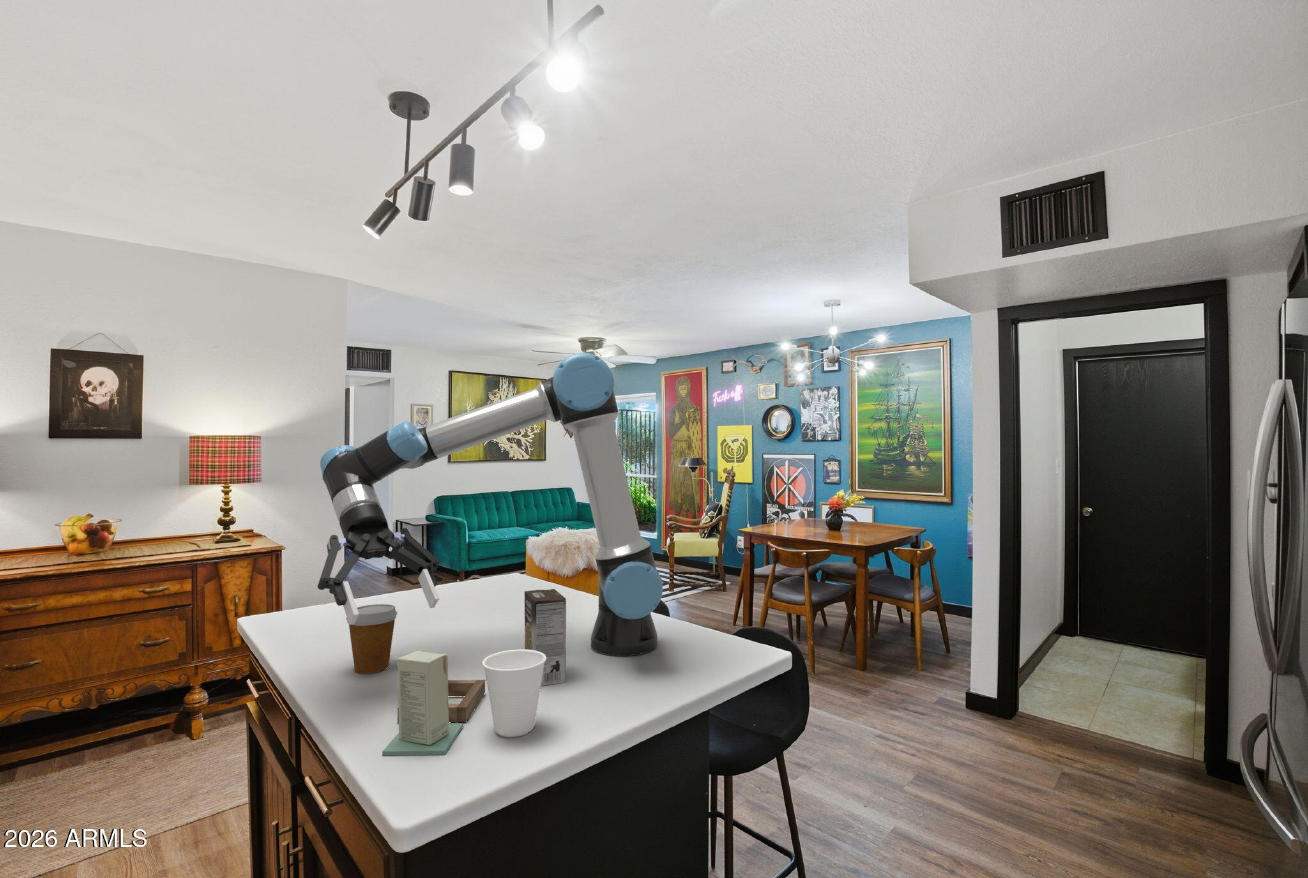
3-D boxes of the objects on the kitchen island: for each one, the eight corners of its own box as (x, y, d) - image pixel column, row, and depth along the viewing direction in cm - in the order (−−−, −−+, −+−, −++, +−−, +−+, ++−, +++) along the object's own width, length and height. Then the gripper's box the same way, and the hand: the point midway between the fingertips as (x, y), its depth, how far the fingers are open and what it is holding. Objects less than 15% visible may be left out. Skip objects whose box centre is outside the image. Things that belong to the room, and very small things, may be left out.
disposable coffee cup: (377, 678, 118) (377, 616, 118) (334, 675, 120) (335, 613, 120) (406, 662, 127) (407, 604, 128) (366, 659, 129) (367, 602, 130)
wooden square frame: (485, 693, 110) (485, 679, 110) (466, 722, 98) (466, 707, 98) (424, 694, 110) (424, 680, 110) (397, 723, 98) (397, 707, 98)
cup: (488, 717, 100) (488, 649, 101) (549, 714, 101) (549, 648, 102) (476, 745, 91) (476, 671, 91) (543, 742, 91) (543, 668, 92)
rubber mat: (463, 726, 97) (463, 723, 97) (445, 754, 88) (445, 750, 88) (406, 727, 97) (406, 723, 97) (382, 755, 88) (382, 751, 88)
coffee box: (523, 671, 121) (523, 590, 122) (555, 667, 124) (555, 587, 124) (533, 687, 113) (533, 600, 114) (566, 682, 116) (566, 597, 116)
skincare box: (450, 734, 93) (450, 653, 93) (429, 746, 89) (430, 662, 89) (417, 727, 95) (417, 648, 96) (396, 739, 91) (396, 657, 92)
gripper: (419, 522, 123) (456, 609, 113) (279, 535, 105) (309, 640, 95) (431, 497, 120) (471, 585, 109) (289, 506, 102) (321, 612, 91)
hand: (396, 611), depth 102 cm, fingers open, 13 cm apart
